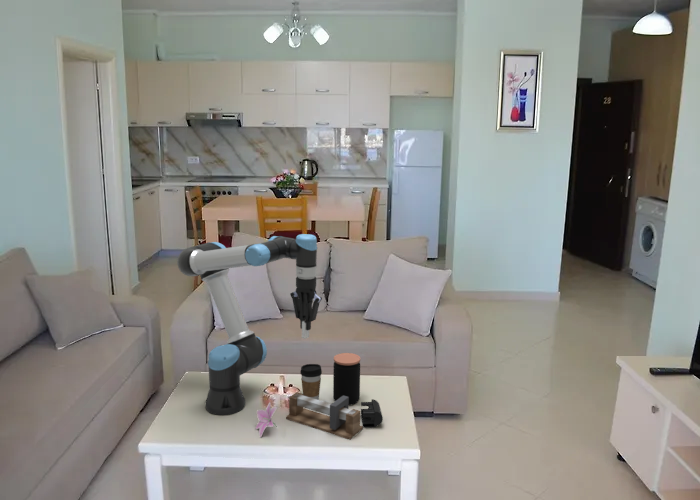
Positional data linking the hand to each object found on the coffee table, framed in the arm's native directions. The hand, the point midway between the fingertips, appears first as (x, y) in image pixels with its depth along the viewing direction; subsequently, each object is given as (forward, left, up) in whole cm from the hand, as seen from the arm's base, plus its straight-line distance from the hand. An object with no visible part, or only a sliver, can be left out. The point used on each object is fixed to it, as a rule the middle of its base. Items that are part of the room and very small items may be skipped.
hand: (305, 337), depth 226 cm
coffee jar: (+9, +16, -30) cm, 35 cm away
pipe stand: (+12, -5, -30) cm, 32 cm away
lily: (-3, -20, -30) cm, 36 cm away
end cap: (+26, +6, -30) cm, 40 cm away
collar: (+18, -5, -28) cm, 34 cm away
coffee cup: (-2, +7, -30) cm, 31 cm away
